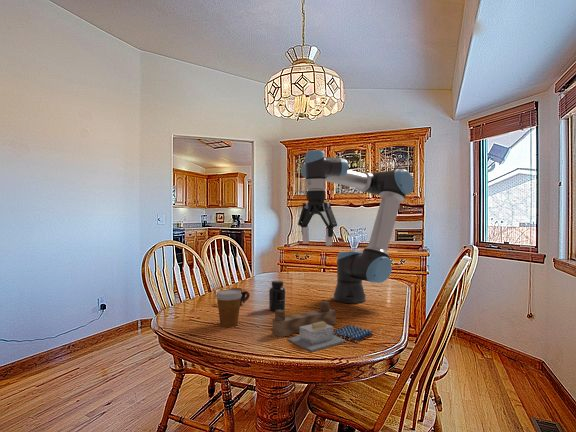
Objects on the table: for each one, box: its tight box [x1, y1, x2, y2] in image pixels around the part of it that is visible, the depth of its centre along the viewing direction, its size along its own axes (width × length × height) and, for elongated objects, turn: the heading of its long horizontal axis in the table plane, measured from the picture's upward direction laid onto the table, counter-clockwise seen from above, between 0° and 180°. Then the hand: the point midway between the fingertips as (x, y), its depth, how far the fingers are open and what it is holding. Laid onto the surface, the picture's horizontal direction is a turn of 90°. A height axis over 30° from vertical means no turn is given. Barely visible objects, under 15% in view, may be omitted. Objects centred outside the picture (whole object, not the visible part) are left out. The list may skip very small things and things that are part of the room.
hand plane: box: [272, 300, 337, 338], centre depth 127 cm, size 25×4×8 cm, turn 126°
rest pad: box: [287, 334, 347, 353], centre depth 114 cm, size 14×12×1 cm
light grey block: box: [299, 321, 334, 345], centre depth 115 cm, size 9×6×5 cm, turn 126°
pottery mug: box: [227, 287, 251, 307], centre depth 163 cm, size 12×10×8 cm
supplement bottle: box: [268, 280, 286, 312], centre depth 153 cm, size 7×7×12 cm
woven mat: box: [333, 324, 374, 343], centre depth 120 cm, size 10×11×2 cm
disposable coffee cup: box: [215, 288, 242, 328], centre depth 132 cm, size 10×10×12 cm
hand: (317, 244), depth 141 cm, fingers open, 13 cm apart
